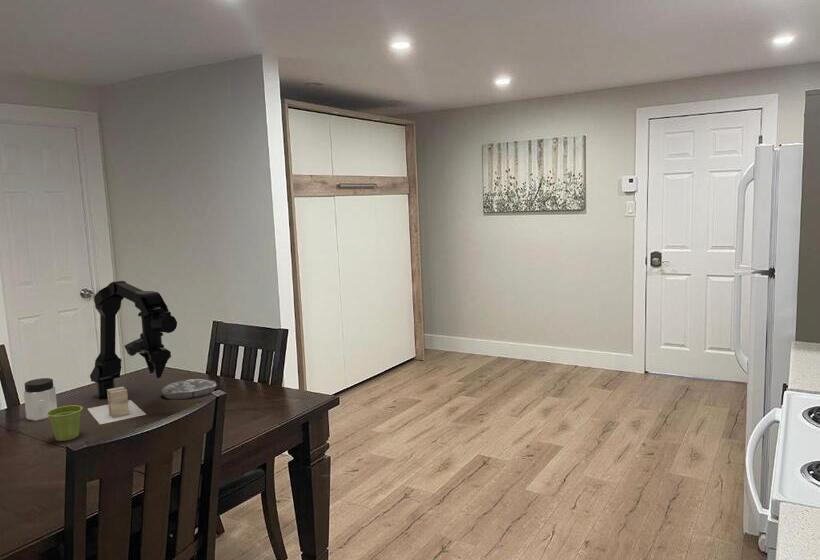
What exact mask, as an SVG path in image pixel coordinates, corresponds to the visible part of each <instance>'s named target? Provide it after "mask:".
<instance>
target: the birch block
mask: <svg viewBox="0 0 820 560" xmlns="http://www.w3.org/2000/svg"><path fill="white" fill-rule="evenodd" d="M107 395H108V397H107V405H108V406H109V415H110V416H111V417H112V418H116V417H121V416H126V415H129V408H128V400H129V398H128V389H127V388H125V386H119V387H115V388H113V389H108V390H107Z"/></svg>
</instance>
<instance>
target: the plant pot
mask: <svg viewBox="0 0 820 560" xmlns="http://www.w3.org/2000/svg"><path fill="white" fill-rule="evenodd" d="M82 410H83V407H82V406H81V405H65V406H59V407H57V408H55V409H52V410H50V411H48V412H47V413H46V414H47V416H48V417H49V418H48V419H49V420H50V424H51V426H52V431H53V435H54V438H55V440H56V441H59V442H62V441H70V440H73V439H76V438H78V437H79V436H80V422H81V415H82Z"/></svg>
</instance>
